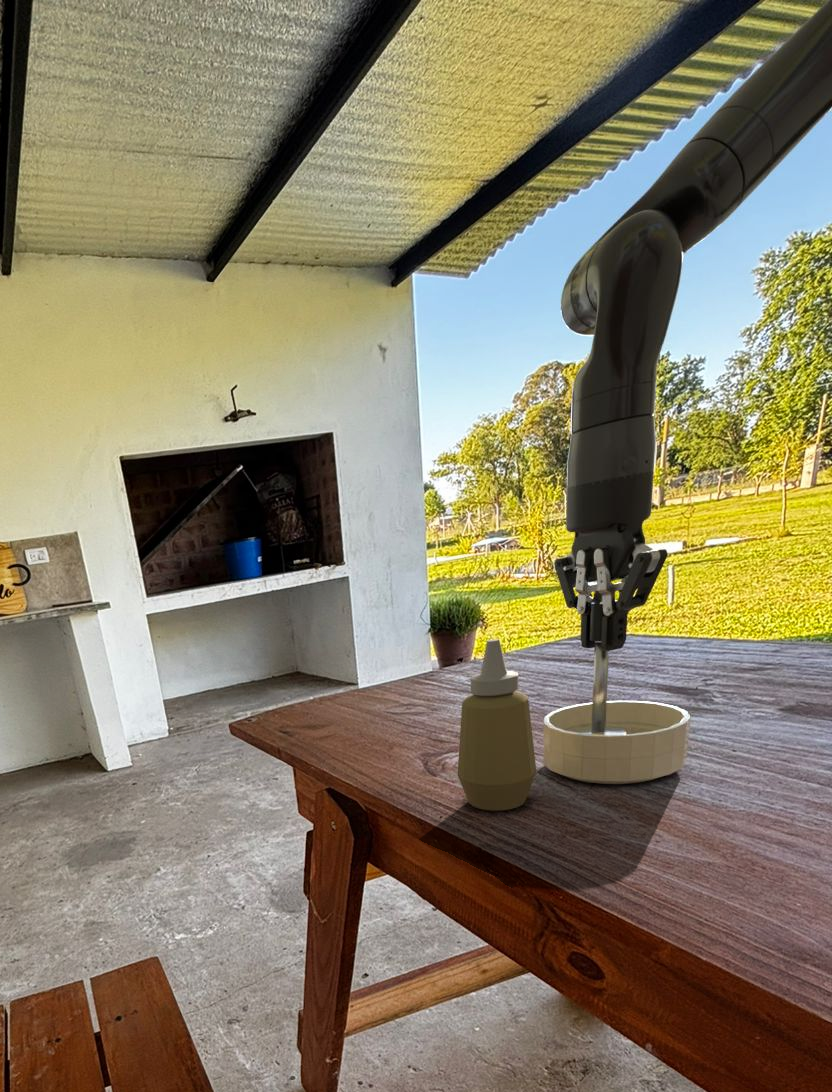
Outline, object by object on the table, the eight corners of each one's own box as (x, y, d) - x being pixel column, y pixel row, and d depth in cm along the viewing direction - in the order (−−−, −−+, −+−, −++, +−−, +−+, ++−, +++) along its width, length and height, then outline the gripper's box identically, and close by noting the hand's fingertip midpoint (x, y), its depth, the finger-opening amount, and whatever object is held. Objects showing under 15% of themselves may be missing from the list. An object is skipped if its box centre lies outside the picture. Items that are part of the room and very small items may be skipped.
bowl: (618, 739, 80) (620, 694, 78) (718, 769, 67) (724, 716, 64) (518, 763, 78) (518, 717, 76) (601, 798, 65) (603, 745, 63)
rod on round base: (601, 732, 75) (607, 596, 69) (638, 743, 69) (647, 597, 64) (560, 741, 74) (562, 605, 68) (593, 753, 69) (599, 607, 63)
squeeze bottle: (540, 789, 70) (541, 629, 63) (531, 818, 63) (532, 644, 57) (466, 787, 74) (460, 636, 68) (451, 814, 68) (443, 651, 61)
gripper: (703, 456, 56) (686, 647, 62) (592, 481, 69) (587, 637, 75) (629, 469, 55) (619, 661, 61) (531, 492, 68) (531, 649, 74)
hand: (601, 647), depth 68 cm, fingers closed on rod on round base, 2 cm apart
